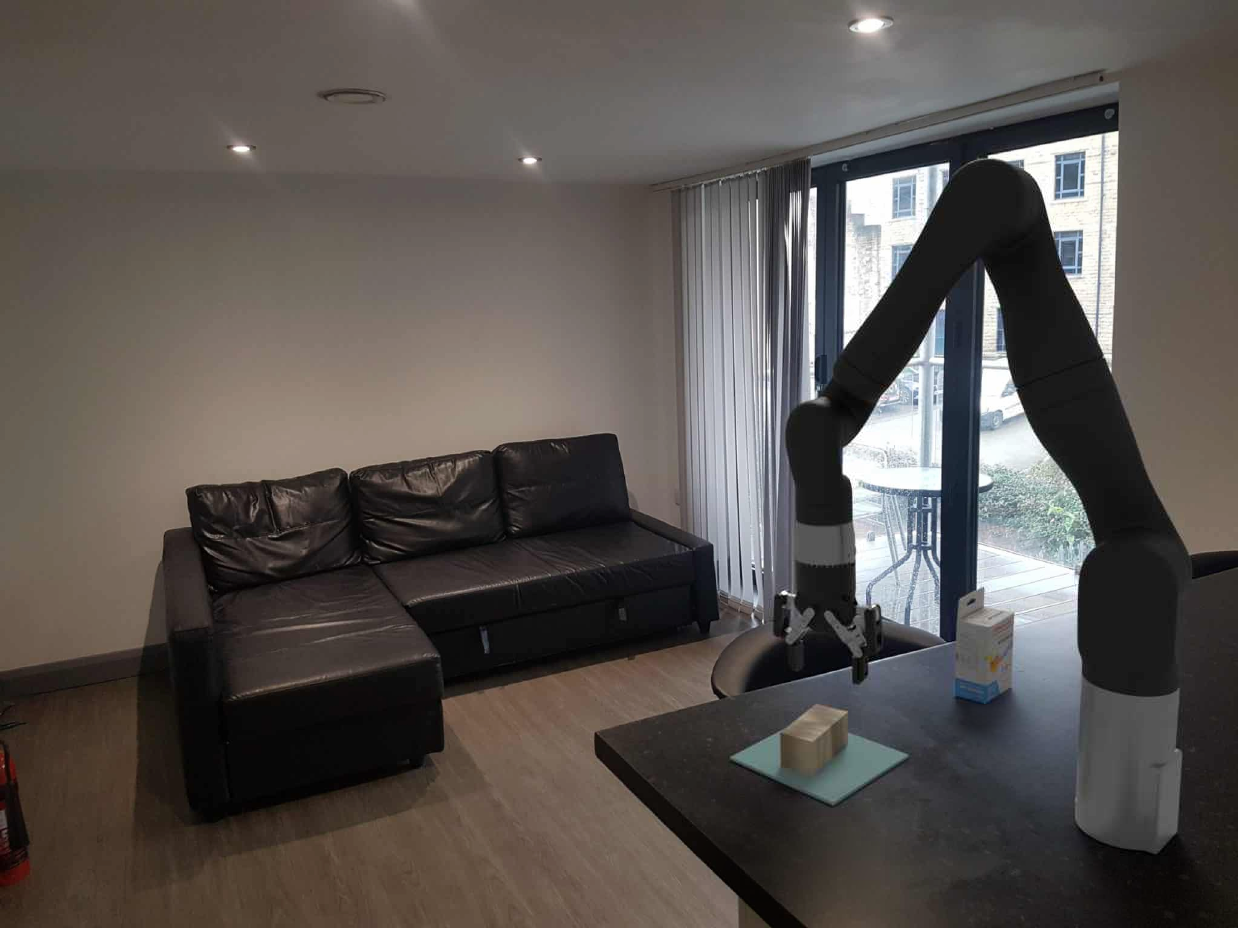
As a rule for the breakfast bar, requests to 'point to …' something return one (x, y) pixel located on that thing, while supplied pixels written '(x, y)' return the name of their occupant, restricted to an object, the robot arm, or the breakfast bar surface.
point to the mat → (824, 767)
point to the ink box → (983, 649)
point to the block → (814, 739)
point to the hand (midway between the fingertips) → (827, 675)
